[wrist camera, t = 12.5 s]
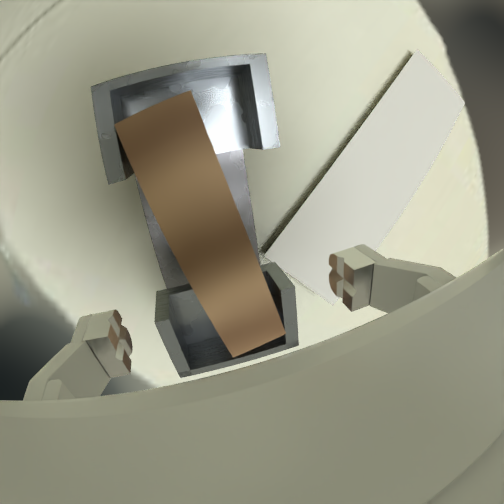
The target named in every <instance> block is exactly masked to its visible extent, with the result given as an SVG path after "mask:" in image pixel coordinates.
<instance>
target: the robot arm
mask: <svg viewBox="0 0 504 504" xmlns="http://www.w3.org/2000/svg"><path fill="white" fill-rule="evenodd" d="M329 266H330V267H331V268H332V270H331V271H330V273H329V284H330V287H331V290H332V291H333V293H334V294H335V295H336V296H337V297H341V298H343V303H344V304H345V305H346V306H347V307H348V309H349V310H350V311H351V312H352V311H355V310H358V309H360V308H363V307H366V306H368V305H370V306H371V307H374V308H376V309H379V310H381V311H384V312H386V313H388V314H386V315H384V316H382V317H380V318H377V319H375V320H373V321H371V322H368V323H366V324H364V325H362V326H359V327H357V328H354V329H352V330H350V331H347V332H345V333H342V334H340V335H337V336H335V337H332V338H330V339H327V340H324V341H322V342H319V343H316V344H314V345H311V346H308V347H306V348H303V349H300V350H297V351H294V352H291V353H288V354H285V355H282V356H279V357H276V358H273V359H270V360H267V361H263V362H260V363H257V364H253V365H250V366H247V367H243V368H240V369H236V370H232V371H229V372H225V373H221V374H217V375H213V376H209V377H205V378H201V379H197V380H192V381H188V382H183V383H178V384H174V385H169V386H163V387H158V388H153V389H148V390H141V391H136V392H129V393H122V394H114V395H106V396H100V394H101V393H102V391H103V390H104V388H105V387H106V385H107V384H108V382H109V380H110V378H113V377H118V376H123V375H128V374H130V372H131V359H130V358H129V356H130V354H131V353H132V341H131V337H130V334H129V332H128V330H127V328H125V327H124V326H122V325H121V322H122V318H121V316H120V314H119V312H118V311H117V310H116V309H115V310H111V311H106V312H101V313H96V314H90V315H86V316H82V317H80V319H79V321H78V324H77V327H76V329H75V332H74V335H73V338H72V341H71V343H70V344H67V345H66V346H65V347H64V348H63V349H62V350H61V351H59V353H57V354H56V355H55V356H54V357H53V358H52V359H51V360H50V361H49V362H48V363H47V364H46V365H45V366H44V367H43V368H42V369H41V370H40V371H39V372H38V373H37V374H36V375H35V376H34V377H33V378H32V379H31V380H30V381H29V384H28V387H27V390H26V393H25V396H24V399H23V401H2V400H1V401H0V504H504V249H502V250H500V251H499V252H497V253H496V254H494V255H493V256H491V257H490V258H488V259H487V260H485V261H484V262H482V263H480V264H479V265H477V266H476V267H474V268H472V269H471V270H469V271H467V272H466V273H464V274H462V275H461V276H459V277H457V278H456V277H455V276H453V275H452V274H450V273H448V272H447V271H445V270H444V269H442V268H441V267H435V266H430V265H425V264H419V263H414V262H409V261H403V260H398V259H392V258H389V259H386V258H385V257H383V256H382V255H380V254H379V253H377V252H376V251H374V250H372V249H371V248H369V247H368V246H366V245H365V244H360V245H357V246H354V247H351V248H348V249H345V250H342V251H339V252H336V253H333V254H330V256H329Z"/></svg>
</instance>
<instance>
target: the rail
mask: <svg viewBox="0 0 504 504" xmlns="http://www.w3.org/2000/svg"><path fill="white" fill-rule="evenodd" d="M114 126H115V128H116V131H117V133H118V135H119V138H120V140H121V143H122V145H123V148H124V150H125V152H126V155H127V157H128V159H129V162H130V164H131V166H132V168H133V171H134V173H135V175H136V177H137V180H138V182H139V184H140V186H141V188H142V191H143V193H144V195H145V197H146V199H147V201H148V203H149V206H150V208H151V210H152V212H153V214H154V216H155V218H156V220H157V222H158V224H159V226H160V228H161V230H162V232H163V234H164V236H165V238H166V240H167V242H168V244H169V246H170V248H171V250H172V252H173V254H174V256H175V257H176V259H177V261H178V263H179V265H180V267H181V269H182V271H183V272H184V274H185V276H186V278H187V280H188V282H189V283H190V285H191V287H192V289H193V291H194V292H195V294H196V296H197V298H198V300H199V301H200V303H201V305H202V307H203V308H204V310H205V312H206V313H207V315H208V317H209V319H210V320H211V322H212V324H213V325H214V327H215V329H216V330H217V332H218V334H219V335H220V337H221V339H222V340H223V342H224V344H225V345H226V347H227V348H228V350H229V352H230V353H231V355H232V356H233V357H236V356H238V355H240V354H243V353H245V352H247V351H250V350H252V349H254V348H256V347H259V346H261V345H263V344H265V343H267V342H270V341H272V340H274V339H276V338H278V337H280V336H282V335H284V334H286V332H285V329H284V327H283V324H282V322H281V319H280V317H279V314H278V311H277V309H276V306H275V304H274V301H273V299H272V296H271V294H270V291H269V288H268V286H267V283H266V281H265V278H264V276H263V273H262V270H261V268H260V265H259V263H258V260H257V258H256V255H255V253H254V250H253V247H252V245H251V242H250V240H249V237H248V235H247V232H246V230H245V227H244V224H243V222H242V219H241V217H240V214H239V212H238V209H237V207H236V204H235V201H234V199H233V196H232V194H231V191H230V189H229V186H228V184H227V181H226V179H225V176H224V173H223V171H222V168H221V166H220V163H219V161H218V158H217V156H216V153H215V151H214V148H213V145H212V143H211V140H210V138H209V135H208V133H207V130H206V128H205V125H204V123H203V120H202V118H201V115H200V112H199V110H198V107H197V105H196V102H195V100H194V97H193V95H192V92H191V90H190V91H187V92H184V93H182V94H179V95H177V96H174V97H172V98H169V99H167V100H165V101H162V102H160V103H158V104H155V105H153V106H151V107H149V108H146V109H144V110H142V111H140V112H138V113H136V114H134V115H132V116H130V117H128V118H126V119H124V120H122V121H120V122H118V123H116V124H114Z"/></svg>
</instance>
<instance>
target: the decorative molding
mask: <svg viewBox="0 0 504 504" xmlns="http://www.w3.org/2000/svg"><path fill="white" fill-rule="evenodd" d="M464 104H465V102H464V101H463V99H462V98H461V97H460V96H459V94H458V93H457V92H456V91H455V89H454V88H453V87H452V86H451V85H450V83H449V82H448V81H447V80H446V79H445V78H444V76H443V75H442V74H441V73H440V72H439V71H438V70H437V69H436V68H435V67H434V65H433V64H432V63H431V62H430V61H429V60H428V59H427V58H426V57H425V56H424V55H423V54H422V53H421V52H420V51H419V50H418V49H417V50H416V51H415V53H414V54H413V55H412V57H411V58H410V59H409V61H408V62H407V64H406V65H405V66H404V68H403V69H402V71H401V72H400V73H399V75H398V76H397V77H396V79H395V80H394V82H393V83H392V84H391V86H390V87H389V89H388V90H387V91H386V93H385V94H384V95H383V97H382V98H381V100H380V101H379V102H378V104H377V105H376V106H375V108H374V109H373V110H372V112H371V113H370V115H369V116H368V117H367V119H366V120H365V121H364V123H363V124H362V125H361V127H360V128H359V130H358V131H357V132H356V134H355V135H354V136H353V138H352V139H351V140H350V142H349V143H348V144H347V146H346V147H345V149H344V150H343V151H342V153H341V154H340V155H339V157H338V158H337V159H336V161H335V162H334V163H333V165H332V166H331V167H330V169H329V170H328V171H327V173H326V174H325V175H324V177H323V178H322V179H321V181H320V182H319V183H318V185H317V186H316V187H315V189H314V190H313V191H312V193H311V194H310V195H309V197H308V198H307V199H306V201H305V202H304V203H303V205H302V206H301V207H300V209H299V210H298V211H297V213H296V214H295V215H294V217H293V218H292V219H291V221H290V222H289V223H288V224H287V226H286V227H285V228H284V230H283V231H282V232H281V234H280V235H279V236H278V238H277V239H276V240H275V242H274V243H273V244H272V245H271V247H270V248H269V249H268V251H267V252H266V253H265V255H264V257H266V258H267V259H269V260H270V261H271V262H276V264H277V265H278V266H279V267H280V268H281V269H283V270H284V271H285V272H287V273H288V274H289V275H291V276H292V277H294V278H295V279H296V280H298V281H299V282H301V283H302V284H303V285H305V286H306V287H308V288H309V289H310V290H312V291H313V292H315V293H316V294H317V295H319V296H320V297H322V298H323V299H324V300H326V301H327V302H328V303H330V304H331V305H334V304H335V302H336V301H337V300H338V299H339V298H340V297H337V296H336V295H335V294H334V293H333V291H332V290H331V287H330V284H329V273H330V271H331V270H332V268H331V267H330V266H329V256H330V254H333V253H336V252H339V251H342V250H345V249H348V248H351V247H354V246H357V245H360V244H365V245H366V246H368V247H369V248H371V249H372V250H374V251H376V250H377V249H378V247H379V246H380V244H381V243H382V242H383V240H384V239H385V237H386V236H387V235H388V233H389V232H390V230H391V229H392V227H393V226H394V224H395V223H396V222H397V220H398V219H399V217H400V216H401V214H402V213H403V211H404V210H405V208H406V207H407V205H408V204H409V202H410V200H411V199H412V197H413V196H414V194H415V193H416V191H417V189H418V188H419V186H420V185H421V183H422V181H423V180H424V178H425V176H426V175H427V173H428V171H429V170H430V168H431V166H432V165H433V163H434V161H435V159H436V158H437V156H438V154H439V152H440V150H441V149H442V147H443V145H444V143H445V141H446V139H447V138H448V136H449V134H450V132H451V130H452V128H453V126H454V124H455V122H456V120H457V118H458V116H459V114H460V112H461V110H462V108H463V106H464Z"/></svg>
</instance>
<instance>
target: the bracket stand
mask: <svg viewBox="0 0 504 504" xmlns="http://www.w3.org/2000/svg"><path fill="white" fill-rule="evenodd" d="M190 90H191V92H192V95H193V97H194V100H195V102H196V105H197V107H198V110H199V112H200V115H201V118H202V120H203V123H204V125H205V128H206V130H207V133H208V135H209V138H210V140H211V143H212V145H213V148H214V151H215V153H216V156H217V158H218V161H219V163H220V166H221V168H222V171H223V173H224V176H225V179H226V181H227V184H228V186H229V189H230V191H231V194H232V196H233V199H234V201H235V204H236V207H237V209H238V212H239V214H240V217H241V219H242V222H243V224H244V227H245V230H246V232H247V235H248V237H249V240H250V242H251V245H252V247H253V250H254V253H255V255H256V258H257V260H258V263H259V265H260V260H259V253H258V246H257V239H256V233H255V226H254V219H253V213H252V206H251V200H250V193H249V187H248V180H247V174H246V167H245V161H244V154H243V149H246V148H254V149H262V150H264V149H271V148H278V147H280V141H279V134H278V127H277V120H276V113H275V106H274V99H273V93H272V87H271V80H270V74H269V68H268V62H267V57H266V54H246V55H233V56H223V57H214V58H206V59H199V60H193V61H187V62H181V63H176V64H171V65H166V66H161V67H157V68H152V69H148V70H144V71H140V72H136V73H133V74H129V75H125V76H122V77H119V78H115V79H112V80H109V81H106V82H103V83H100V84H97V85H94V86H92V87H91V91H92V100H93V107H94V114H95V120H96V126H97V132H98V138H99V143H100V148H101V153H102V158H103V163H104V167H105V172H106V176H107V180H108V184H113V183H116V182H119V181H123V180H126V179H127V178H128V177H130V176H131V175H132V174H134V171H133V168H132V166H131V164H130V162H129V159H128V157H127V155H126V152H125V150H124V148H123V145H122V143H121V140H120V138H119V135H118V133H117V131H116V128H115V126H114V124H116V123H118V122H120V121H122V120H124V119H126V118H128V117H130V116H132V115H134V114H136V113H138V112H140V111H142V110H144V109H146V108H149V107H151V106H153V105H155V104H158V103H160V102H162V101H165V100H167V99H169V98H172V97H174V96H177V95H179V94H182V93H184V92H187V91H190ZM135 177H136V175H135ZM136 182H137V186H138V190H139V194H140V198H141V202H142V206H143V210H144V214H145V218H146V221H147V225H148V229H149V232H150V236H151V239H152V243H153V246H154V249H155V253H156V256H157V259H158V262H159V266H160V269H161V272H162V275H163V278H164V281H165V284H166V287H167V289H165V290H161V291H157V293H156V307H155V325H156V327H157V329H158V332H159V334H160V336H161V338H162V341H163V343H164V345H165V347H166V349H167V351H168V354H169V356H170V358H171V360H172V362H173V364H174V366H175V368H176V370H177V372H178V374H179V376H180V378H182V377H187V376H191V375H196V374H200V373H204V372H208V371H213V370H217V369H221V368H224V367H228V366H232V365H236V364H240V363H243V362H247V361H250V360H254V359H257V358H261V357H264V356H267V355H270V354H274V353H277V352H280V351H283V350H286V349H289V348H292V347H295V346H298V345H299V342H298V325H297V310H296V296H295V286H294V285H293V283H292V282H291V281H290V280H289V278H288V277H287V276H286V275H285V273H284V272H283V271H282V270H281V268H280V267H279V266H278V265H277V264H276V262H272V263H268V264H265V265H261V266H260V268H261V270H262V273H263V276H264V278H265V281H266V283H267V286H268V288H269V291H270V294H271V296H272V299H273V301H274V304H275V306H276V309H277V311H278V314H279V317H280V319H281V322H282V324H283V327H284V329H285V332H286V334H284V335H282V336H280V337H278V338H276V339H274V340H272V341H270V342H267V343H265V344H263V345H261V346H259V347H256V348H254V349H252V350H250V351H247V352H245V353H243V354H240V355H238V356H236V357H233V356H232V355H231V353H230V352H229V350H228V348H227V347H226V345H225V344H224V342H223V340H222V339H221V337H220V335H219V334H218V332H217V330H216V329H215V327H214V325H213V324H212V322H211V320H210V319H209V317H208V315H207V313H206V312H205V310H204V308H203V307H202V305H201V303H200V301H199V300H198V298H197V296H196V294H195V292H194V291H193V289H192V287H191V285H190V283H189V282H188V280H187V278H186V276H185V274H184V272H183V271H182V269H181V267H180V265H179V263H178V261H177V259H176V257H175V256H174V254H173V252H172V250H171V248H170V246H169V244H168V242H167V240H166V238H165V236H164V234H163V232H162V230H161V228H160V226H159V224H158V222H157V220H156V218H155V216H154V214H153V212H152V210H151V208H150V206H149V203H148V201H147V199H146V197H145V195H144V193H143V191H142V188H141V186H140V184H139V182H138V180H137V177H136Z"/></svg>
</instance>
